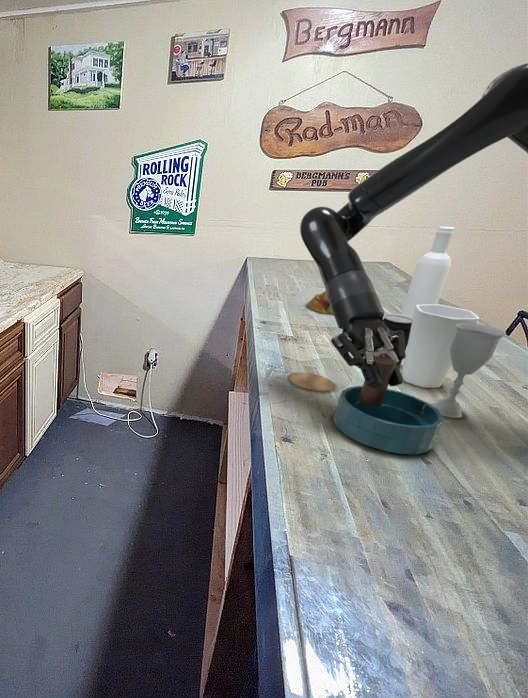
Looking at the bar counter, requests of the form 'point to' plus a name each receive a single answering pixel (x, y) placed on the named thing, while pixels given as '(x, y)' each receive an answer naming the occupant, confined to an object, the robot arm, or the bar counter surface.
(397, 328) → the beverage can
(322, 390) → the coaster
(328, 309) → the pastry
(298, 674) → the bar counter surface
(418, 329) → the cup
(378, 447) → the bowl
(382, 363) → the brown cylinder
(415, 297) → the bottle
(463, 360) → the chalice
